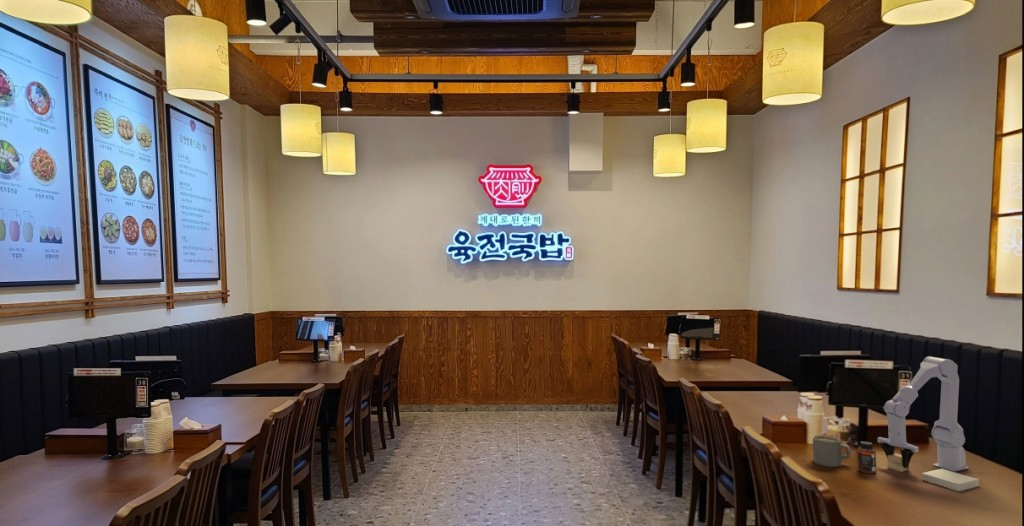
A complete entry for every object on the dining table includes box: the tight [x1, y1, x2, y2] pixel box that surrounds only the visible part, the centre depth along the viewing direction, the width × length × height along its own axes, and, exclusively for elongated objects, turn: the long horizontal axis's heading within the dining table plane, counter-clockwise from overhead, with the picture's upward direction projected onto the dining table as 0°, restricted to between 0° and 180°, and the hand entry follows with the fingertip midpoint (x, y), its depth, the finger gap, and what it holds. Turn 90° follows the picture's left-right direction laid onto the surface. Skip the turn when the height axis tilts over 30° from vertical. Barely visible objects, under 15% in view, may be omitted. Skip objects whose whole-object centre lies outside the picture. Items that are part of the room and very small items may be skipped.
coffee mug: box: [812, 434, 852, 468], centre depth 218 cm, size 13×10×10 cm
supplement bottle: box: [857, 440, 877, 475], centre depth 209 cm, size 6×6×11 cm
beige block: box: [921, 468, 980, 492], centre depth 196 cm, size 12×12×3 cm
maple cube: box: [886, 453, 910, 473], centre depth 211 cm, size 5×5×5 cm
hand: (898, 465), depth 211 cm, fingers closed on maple cube, 5 cm apart
